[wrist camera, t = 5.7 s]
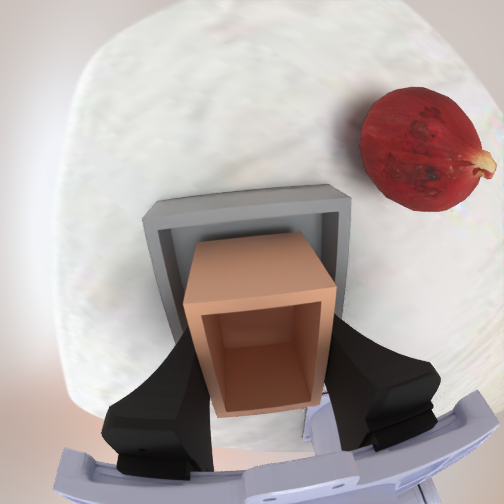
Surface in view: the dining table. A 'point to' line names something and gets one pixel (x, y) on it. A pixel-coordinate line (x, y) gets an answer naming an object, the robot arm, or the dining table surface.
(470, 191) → the onion
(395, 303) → the dining table surface
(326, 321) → the small crate
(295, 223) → the big crate
